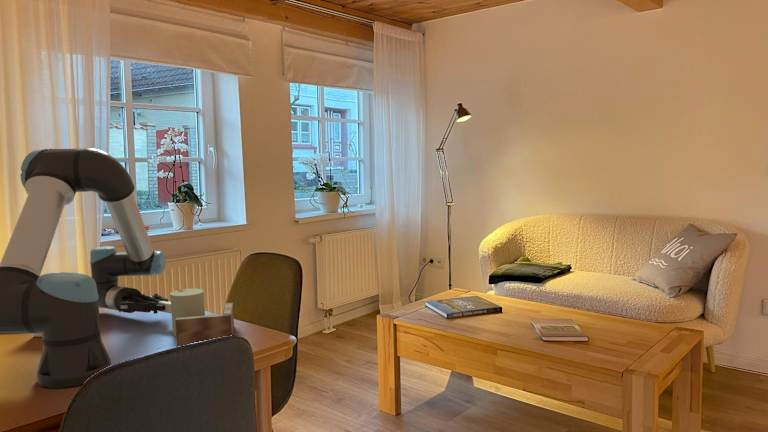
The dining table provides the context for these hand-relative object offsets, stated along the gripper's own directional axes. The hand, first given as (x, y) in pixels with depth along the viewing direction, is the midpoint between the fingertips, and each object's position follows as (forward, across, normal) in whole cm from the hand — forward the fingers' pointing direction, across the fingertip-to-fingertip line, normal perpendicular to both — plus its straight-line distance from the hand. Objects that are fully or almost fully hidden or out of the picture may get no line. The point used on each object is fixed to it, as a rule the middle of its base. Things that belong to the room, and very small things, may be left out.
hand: (174, 308), depth 170 cm
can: (+6, 0, -6) cm, 9 cm away
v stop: (+18, +1, -6) cm, 19 cm away
